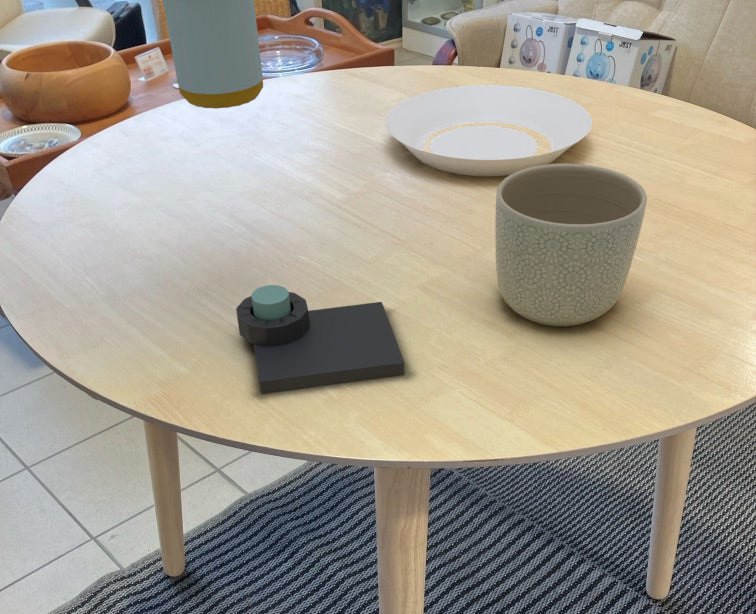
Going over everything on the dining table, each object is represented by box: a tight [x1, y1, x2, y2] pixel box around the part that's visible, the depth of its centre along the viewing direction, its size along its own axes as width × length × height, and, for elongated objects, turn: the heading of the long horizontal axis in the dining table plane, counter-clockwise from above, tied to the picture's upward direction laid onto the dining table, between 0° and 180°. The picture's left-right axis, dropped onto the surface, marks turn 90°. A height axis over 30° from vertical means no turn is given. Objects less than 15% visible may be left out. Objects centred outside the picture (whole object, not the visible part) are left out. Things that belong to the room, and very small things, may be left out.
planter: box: [494, 163, 648, 328], centre depth 75 cm, size 12×12×11 cm
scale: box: [235, 291, 405, 395], centre depth 74 cm, size 13×11×4 cm
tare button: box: [250, 284, 291, 320], centre depth 73 cm, size 3×3×2 cm
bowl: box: [384, 84, 593, 177], centre depth 105 cm, size 25×25×4 cm
